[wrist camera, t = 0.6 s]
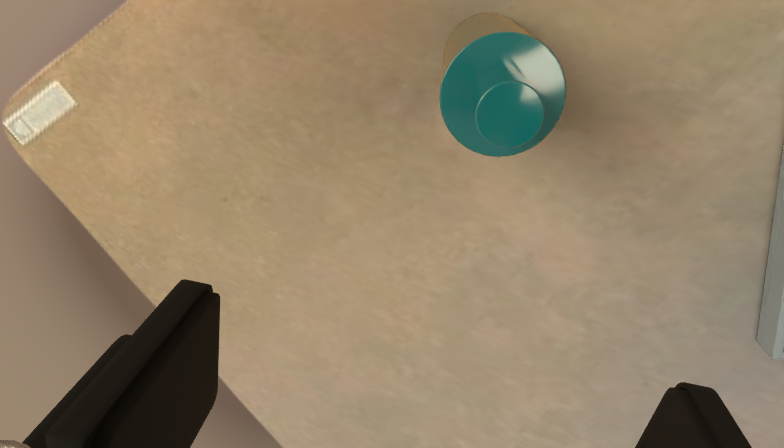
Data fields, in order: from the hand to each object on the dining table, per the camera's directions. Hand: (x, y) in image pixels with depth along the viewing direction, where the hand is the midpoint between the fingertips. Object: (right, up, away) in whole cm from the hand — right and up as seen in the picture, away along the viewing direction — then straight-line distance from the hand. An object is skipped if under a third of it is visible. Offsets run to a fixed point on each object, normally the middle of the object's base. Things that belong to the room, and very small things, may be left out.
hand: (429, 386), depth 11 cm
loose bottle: (+5, +13, +20) cm, 24 cm away
